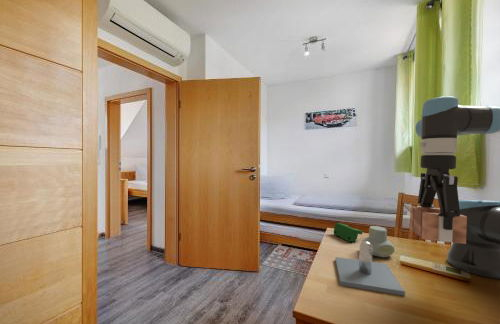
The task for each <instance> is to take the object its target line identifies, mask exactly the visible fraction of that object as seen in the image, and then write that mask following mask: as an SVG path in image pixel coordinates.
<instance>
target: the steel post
mask: <svg viewBox="0 0 500 324" xmlns="http://www.w3.org/2000/svg"><path fill="white" fill-rule="evenodd" d="M358 260H359V271H360V272H361V273H363V274H366V275H370V274H372V262H373V255H372V245H371V244H370V243H369V242H368V241H363V242H362V241H361V242H360V243H359V256H358Z"/></svg>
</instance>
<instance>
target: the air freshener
mask: <svg viewBox="0 0 500 324" xmlns="http://www.w3.org/2000/svg"><path fill="white" fill-rule="evenodd" d="M387 237H388V230H387V228H386V227H383V226H378V225H370V226H369V229H368V236H366V237H364V238H363V239H362V240H361V242H363V241H368V242H369V243H370V244H371V245H372V256H374V257H378V258H386V257H390V256H391V255H393V254H394V253H395V249H396V248H395V246H394V245H393V243H392V242H391V241H390V240H388V238H387Z"/></svg>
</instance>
